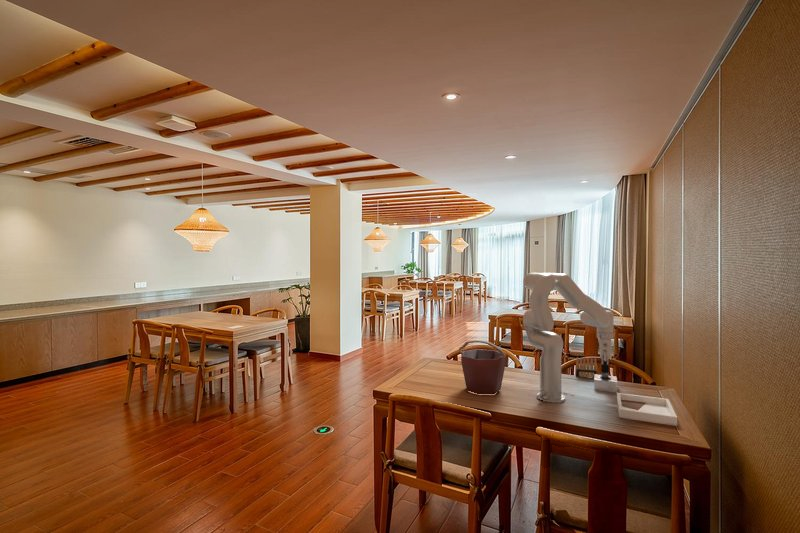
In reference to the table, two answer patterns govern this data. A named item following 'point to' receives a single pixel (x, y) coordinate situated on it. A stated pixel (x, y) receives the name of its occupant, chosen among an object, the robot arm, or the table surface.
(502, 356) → the bucket
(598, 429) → the table surface
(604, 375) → the pin
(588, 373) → the ammunition clip
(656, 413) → the tray
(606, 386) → the block
